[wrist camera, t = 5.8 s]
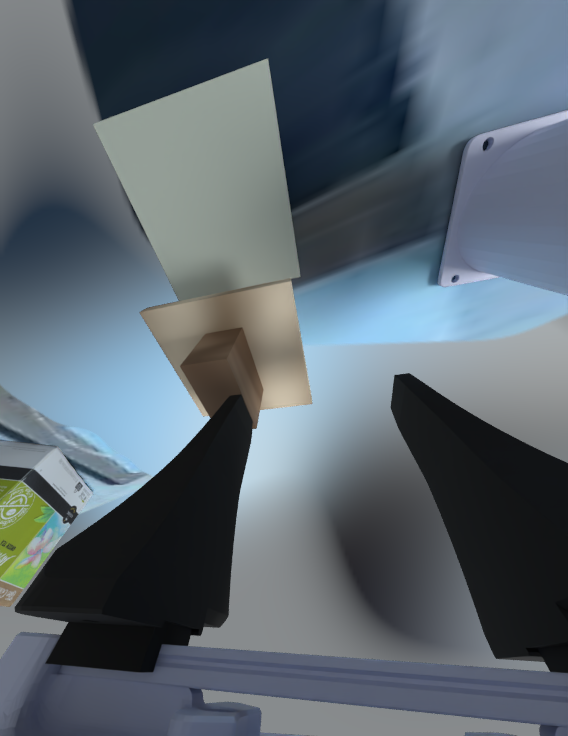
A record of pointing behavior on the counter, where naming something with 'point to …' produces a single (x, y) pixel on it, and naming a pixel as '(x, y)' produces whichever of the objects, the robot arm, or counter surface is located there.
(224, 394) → the lid
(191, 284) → the mat
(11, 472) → the tea box
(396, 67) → the counter surface
